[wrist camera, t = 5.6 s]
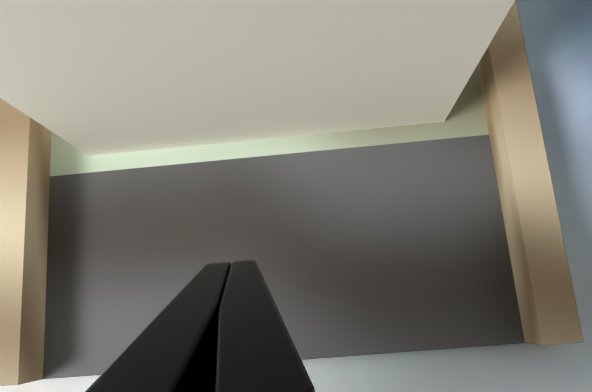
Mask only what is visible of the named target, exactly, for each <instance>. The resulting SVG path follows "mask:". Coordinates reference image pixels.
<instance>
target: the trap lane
mask: <svg viewBox="0 0 592 392" xmlns="http://www.w3.org/2000/svg"><path fill="white" fill-rule="evenodd" d="M250 259H253V260H255V261H256V262H257V264H258V266H259V268H260V271H261V273H262V275H263V277H264V279H265V282H266V284H267V286H268V288H269V290H270V292H271V295H272V297H273V299H274V301H275V303H276V306H277V308H278V310H279V312H280V314H281V317H282V319H283V321H284V323H285V325H286V327H287V330H288V332H289V334H290V336H291V338H292V341H293V343H294V345H295V347H296V349H297V352H298V354H299V356H300V358H301V360H302V359H315V358H329V357H342V356H355V355H368V354H382V353H395V352H408V351H421V350H435V349H448V348H461V347H474V346H488V345H501V344H514V343H531V344H537V345H553V344H566V343H579V342H583V337H582V332H581V327H580V322H579V317H578V312H577V307H576V302H575V297H574V291H573V286H572V281H571V276H570V271H569V266H568V261H567V256H566V251H565V246H564V241H563V236H562V231H561V226H560V221H559V216H558V211H557V206H556V201H555V196H554V191H553V185H552V180H551V175H550V170H549V165H548V160H547V155H546V150H545V145H544V140H543V135H542V130H541V125H540V120H539V115H538V110H537V105H536V100H535V95H534V90H533V84H532V79H531V74H530V69H529V64H528V59H527V54H526V49H525V44H524V39H523V34H522V29H521V24H520V19H519V14H518V9H517V4H516V0H515V1H514V3H513V5H512V6H511V8H510V10H509V11H508V13H507V15H506V17H505V18H504V20H503V22H502V24H501V25H500V27H499V29H498V30H497V32H496V34H495V36H494V37H493V39H492V41H491V42H490V44H489V46H488V48H487V49H486V51H485V53H484V54H483V56H482V58H481V60H480V61H479V63H478V65H477V66H476V68H475V70H474V72H473V73H472V75H471V77H470V78H469V80H468V82H467V84H466V85H465V87H464V89H463V91H462V92H461V94H460V96H459V97H458V99H457V101H456V103H455V104H454V106H453V108H452V109H451V111H450V113H449V115H448V116H447V118H446V120H445V121H444V122H437V123H427V124H416V125H406V126H395V127H385V128H375V129H364V130H354V131H344V132H333V133H323V134H313V135H302V136H292V137H281V138H271V139H261V140H250V141H240V142H230V143H219V144H209V145H198V146H188V147H178V148H167V149H157V150H147V151H136V152H126V153H115V154H105V155H95V156H88V155H87V154H85V153H84V152H82V151H81V150H79V149H78V148H76V147H75V146H73V145H72V144H70V143H69V142H67V141H65V140H64V139H62V138H61V137H59V136H58V135H56V134H55V133H53V132H52V131H50V130H49V129H47V128H46V127H44V126H43V125H41V124H39V123H38V122H36V121H35V120H33V119H32V118H30V117H29V116H27V115H26V114H24V113H23V112H21V111H20V110H18V109H16V108H15V107H13V106H12V105H10V104H9V103H7V102H6V101H4V100H3V99H1V98H0V386H6V385H19V384H23V383H27V382H32V381H36V380H41V379H50V378H63V377H77V376H90V375H102V374H103V373H104V371H105V370H106V369H107V368H108V367H109V366H110V365H111V364H112V363H113V362H114V361H115V360H116V359H117V358H118V357H119V356H120V355H121V354H122V352H123V351H124V350H125V349H126V348H127V347H128V346H129V345H130V344H131V343H132V342H133V341H134V340H135V339H136V338H137V337H138V336H139V334H140V333H141V332H142V331H143V330H144V329H145V328H146V327H147V326H148V325H149V324H150V323H151V322H152V321H153V320H154V319H155V318H156V317H157V315H158V314H159V313H160V312H161V311H162V310H163V309H164V308H165V307H166V306H167V305H168V304H169V303H170V302H171V301H172V300H173V299H174V298H175V296H176V295H177V294H178V293H179V292H180V291H181V290H182V289H183V288H184V287H185V286H186V285H187V284H188V283H189V282H190V281H191V280H192V279H193V277H194V276H195V275H196V274H197V273H198V272H199V271H200V270H201V269H202V268H203V267H204V266H205V265H206V264H208V263H215V262H230V263H231V264H232V262H234V261H239V260H250Z"/></svg>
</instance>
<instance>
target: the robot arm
mask: <svg viewBox="0 0 592 392" xmlns="http://www.w3.org/2000/svg"><path fill="white" fill-rule="evenodd" d="M86 392H315V389H314V387H313V384H312V382H311V380H310V378H309V376H308V373H307V371H306V369H305V367H304V365H303V363H302V360H301V358H300V356H299V354H298V352H297V349H296V347H295V345H294V343H293V341H292V338H291V336H290V334H289V332H288V330H287V327H286V325H285V323H284V321H283V319H282V317H281V314H280V312H279V310H278V308H277V306H276V303H275V301H274V299H273V297H272V295H271V292H270V290H269V288H268V286H267V284H266V282H265V279H264V277H263V275H262V273H261V271H260V268H259V266H258V264H257V262H256V261H255V260H253V259H250V260H239V261H234V262H232V264H231V263H230V262H215V263H208V264H206V265H205V266H204V267H203V268H202V269H201V270H200V271H199V272H198V273H197V274H196V275H195V276H194V277H193V279H192V280H191V281H190V282H189V283H188V284H187V285H186V286H185V287H184V288H183V289H182V290H181V291H180V292H179V293H178V294H177V295H176V296H175V298H174V299H173V300H172V301H171V302H170V303H169V304H168V305H167V306H166V307H165V308H164V309H163V310H162V311H161V312H160V313H159V314H158V315H157V317H156V318H155V319H154V320H153V321H152V322H151V323H150V324H149V325H148V326H147V327H146V328H145V329H144V330H143V331H142V332H141V333H140V334H139V336H138V337H137V338H136V339H135V340H134V341H133V342H132V343H131V344H130V345H129V346H128V347H127V348H126V349H125V350H124V351H123V352H122V354H121V355H120V356H119V357H118V358H117V359H116V360H115V361H114V362H113V363H112V364H111V365H110V366H109V367H108V368H107V369H106V370H105V371H104V373H103V374H102V375H101V376H100V377H99V378H98V379H97V380H96V381H95V382H94V383H93V384H92V385H91V386H90V387H89V388H88V389H87V390H86Z"/></svg>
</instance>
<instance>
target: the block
mask: <svg viewBox="0 0 592 392" xmlns="http://www.w3.org/2000/svg"><path fill="white" fill-rule="evenodd" d="M514 1H515V0H0V98H1V99H3V100H4V101H6V102H7V103H9V104H10V105H12V106H13V107H15V108H16V109H18V110H20V111H21V112H23V113H24V114H26V115H27V116H29V117H30V118H32V119H33V120H35V121H36V122H38V123H39V124H41V125H43V126H44V127H46V128H47V129H49V130H50V131H52V132H53V133H55V134H56V135H58V136H59V137H61V138H62V139H64V140H65V141H67V142H69V143H70V144H72V145H73V146H75V147H76V148H78V149H79V150H81V151H82V152H84V153H85V154H87V155H88V156H95V155H105V154H115V153H126V152H136V151H147V150H157V149H167V148H178V147H188V146H198V145H209V144H219V143H230V142H240V141H250V140H261V139H271V138H281V137H292V136H302V135H313V134H323V133H333V132H344V131H354V130H364V129H375V128H385V127H395V126H406V125H416V124H427V123H437V122H444V121H445V120H446V118H447V116H448V115H449V113H450V111H451V109H452V108H453V106H454V104H455V103H456V101H457V99H458V97H459V96H460V94H461V92H462V91H463V89H464V87H465V85H466V84H467V82H468V80H469V78H470V77H471V75H472V73H473V72H474V70H475V68H476V66H477V65H478V63H479V61H480V60H481V58H482V56H483V54H484V53H485V51H486V49H487V48H488V46H489V44H490V42H491V41H492V39H493V37H494V36H495V34H496V32H497V30H498V29H499V27H500V25H501V24H502V22H503V20H504V18H505V17H506V15H507V13H508V11H509V10H510V8H511V6H512V5H513V3H514Z"/></svg>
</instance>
